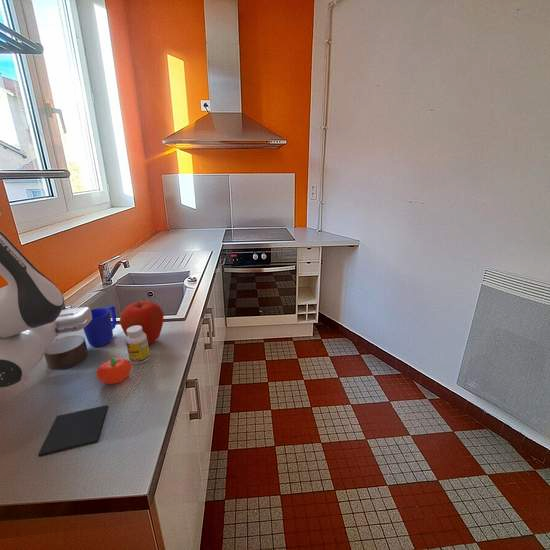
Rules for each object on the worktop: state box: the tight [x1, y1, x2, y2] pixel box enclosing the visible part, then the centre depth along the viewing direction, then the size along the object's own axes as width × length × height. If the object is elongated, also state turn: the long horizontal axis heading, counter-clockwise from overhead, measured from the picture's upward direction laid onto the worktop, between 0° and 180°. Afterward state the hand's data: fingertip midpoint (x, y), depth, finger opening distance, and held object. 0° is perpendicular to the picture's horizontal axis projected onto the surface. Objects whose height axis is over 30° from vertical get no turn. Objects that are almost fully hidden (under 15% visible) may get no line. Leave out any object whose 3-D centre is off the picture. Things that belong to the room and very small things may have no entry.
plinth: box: [43, 334, 90, 371], centre depth 86 cm, size 10×10×5 cm
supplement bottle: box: [125, 325, 151, 365], centre depth 85 cm, size 5×5×10 cm
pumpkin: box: [95, 357, 133, 385], centre depth 77 cm, size 7×8×6 cm
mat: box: [37, 404, 109, 457], centre depth 63 cm, size 10×10×1 cm
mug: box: [82, 305, 117, 347], centre depth 96 cm, size 8×12×10 cm
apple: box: [119, 300, 165, 345], centre depth 92 cm, size 12×12×14 cm
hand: (55, 310), depth 83 cm, fingers closed on stacking piece, 5 cm apart
